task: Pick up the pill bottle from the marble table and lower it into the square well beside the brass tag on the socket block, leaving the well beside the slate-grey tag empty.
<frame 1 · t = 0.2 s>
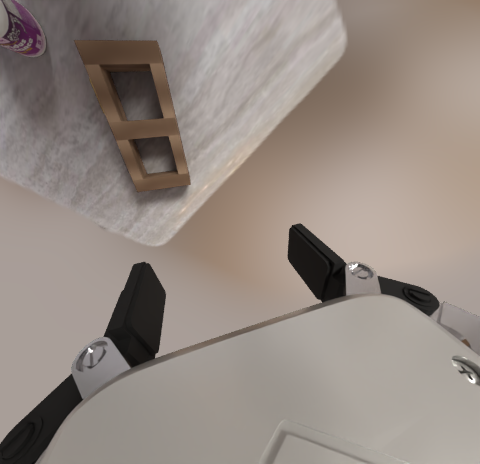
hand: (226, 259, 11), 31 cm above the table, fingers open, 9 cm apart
pill bottle: (22, 31, 22), on the table
socket block: (150, 128, 31), on the table
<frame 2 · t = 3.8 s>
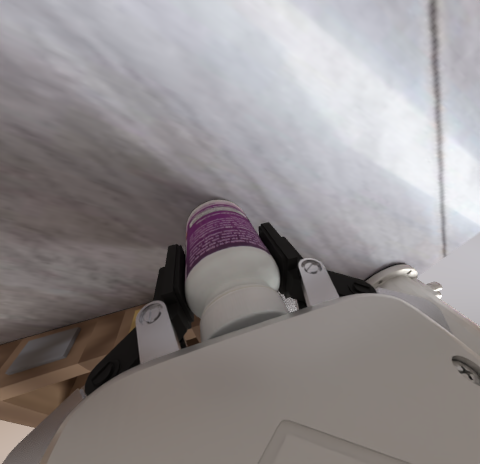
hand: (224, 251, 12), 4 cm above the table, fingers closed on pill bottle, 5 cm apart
pill bottle: (217, 225, 15), on the table, touching gripper
socket block: (135, 337, 20), on the table
when the fingers open (5 cm above the table, at t = 8.2 s): pill bottle drops 1 cm, resting in socket block.
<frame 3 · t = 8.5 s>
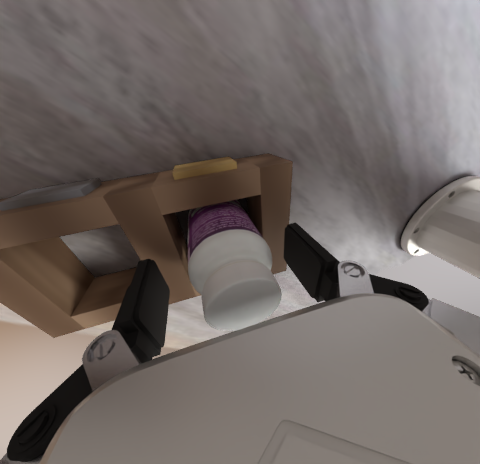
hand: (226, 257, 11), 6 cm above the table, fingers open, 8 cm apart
pill bottle: (216, 217, 16), resting in socket block
socket block: (166, 230, 15), on the table
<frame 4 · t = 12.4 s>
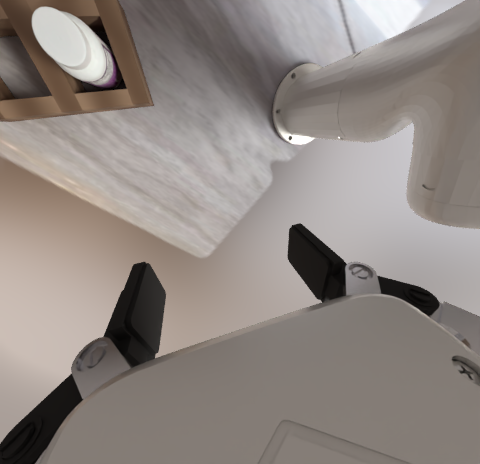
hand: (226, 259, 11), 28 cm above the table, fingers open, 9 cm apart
pill bottle: (101, 66, 24), resting in socket block
socket block: (64, 69, 23), on the table
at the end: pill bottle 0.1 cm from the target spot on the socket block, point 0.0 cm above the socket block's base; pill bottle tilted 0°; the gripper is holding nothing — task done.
